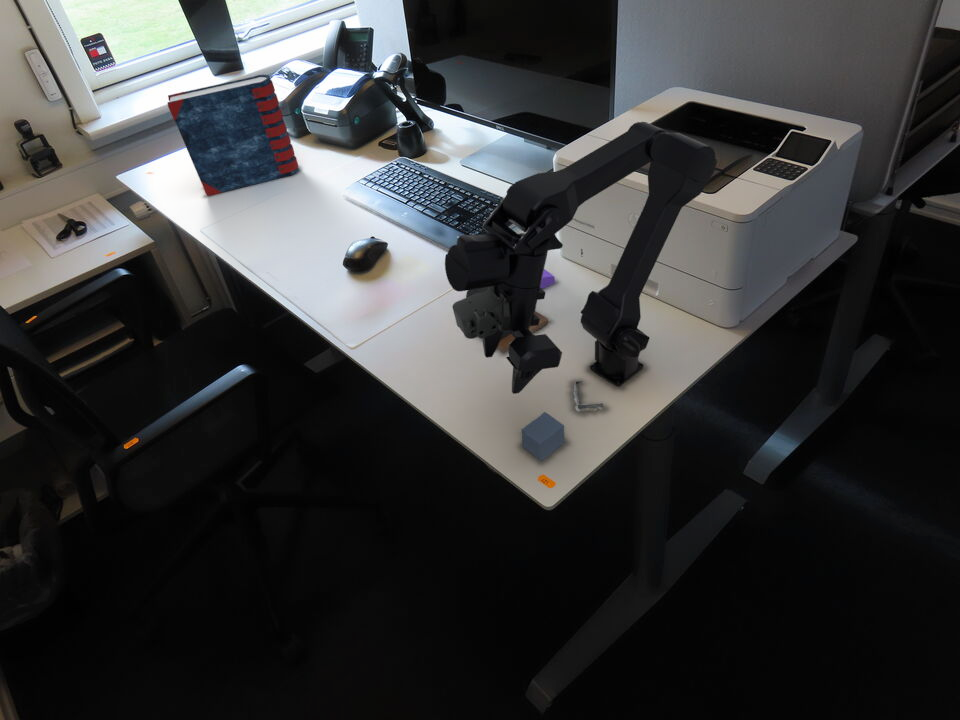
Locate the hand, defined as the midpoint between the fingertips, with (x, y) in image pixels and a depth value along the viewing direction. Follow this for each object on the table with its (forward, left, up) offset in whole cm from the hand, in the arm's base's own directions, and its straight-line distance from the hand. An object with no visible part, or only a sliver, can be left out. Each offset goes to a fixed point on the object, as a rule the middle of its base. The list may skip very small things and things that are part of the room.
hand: (501, 374), depth 97 cm
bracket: (+25, -26, -12) cm, 38 cm away
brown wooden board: (+17, -17, -11) cm, 27 cm away
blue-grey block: (-7, -1, -11) cm, 13 cm away
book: (+115, -12, -12) cm, 117 cm away
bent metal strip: (-5, -12, -12) cm, 18 cm away
